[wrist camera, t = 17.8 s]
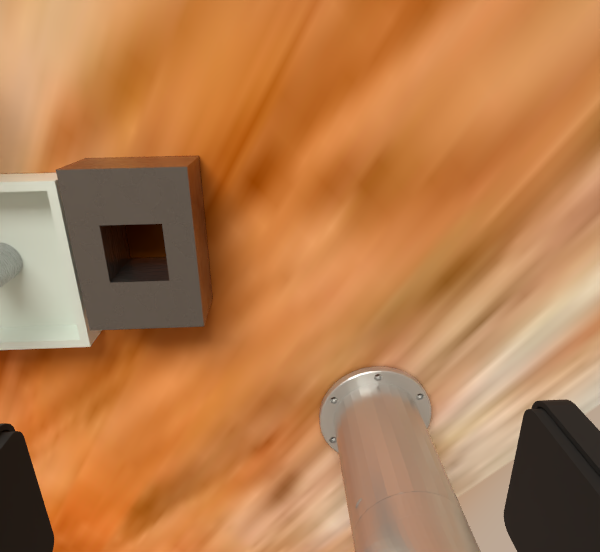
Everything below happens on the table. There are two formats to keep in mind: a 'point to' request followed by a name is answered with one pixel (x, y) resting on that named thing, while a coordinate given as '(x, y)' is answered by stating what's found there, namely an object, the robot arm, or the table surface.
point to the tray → (40, 268)
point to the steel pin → (9, 263)
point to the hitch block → (114, 245)
